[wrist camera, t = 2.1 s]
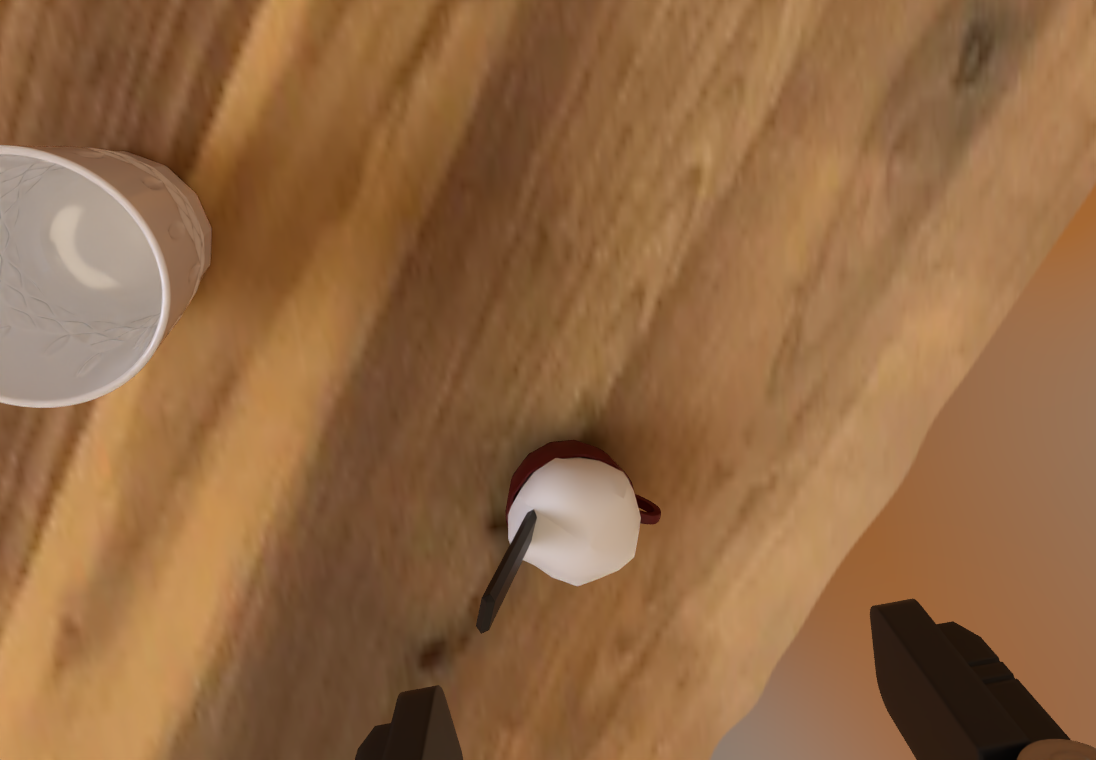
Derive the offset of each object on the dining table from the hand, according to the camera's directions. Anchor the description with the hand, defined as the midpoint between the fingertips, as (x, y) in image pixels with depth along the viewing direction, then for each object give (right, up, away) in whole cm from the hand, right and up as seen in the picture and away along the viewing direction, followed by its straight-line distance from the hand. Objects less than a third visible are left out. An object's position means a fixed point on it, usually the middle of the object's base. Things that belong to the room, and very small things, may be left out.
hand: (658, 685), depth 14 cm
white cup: (-19, +12, +18) cm, 29 cm away
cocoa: (-2, +1, +26) cm, 26 cm away
